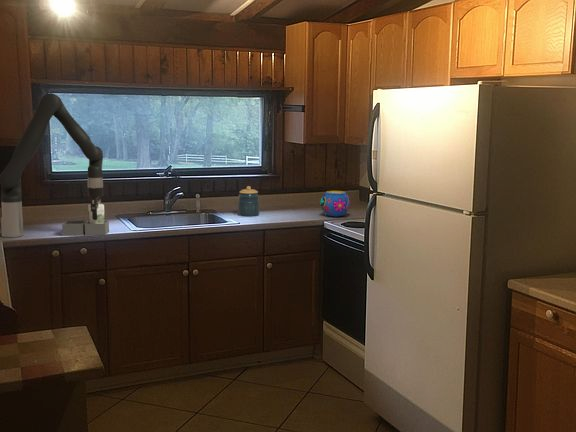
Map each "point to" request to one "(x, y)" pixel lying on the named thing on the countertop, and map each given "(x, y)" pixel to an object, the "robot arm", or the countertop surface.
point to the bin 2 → (96, 229)
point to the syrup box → (99, 215)
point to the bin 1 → (73, 228)
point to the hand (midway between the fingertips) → (96, 218)
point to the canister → (248, 202)
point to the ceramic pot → (335, 203)
